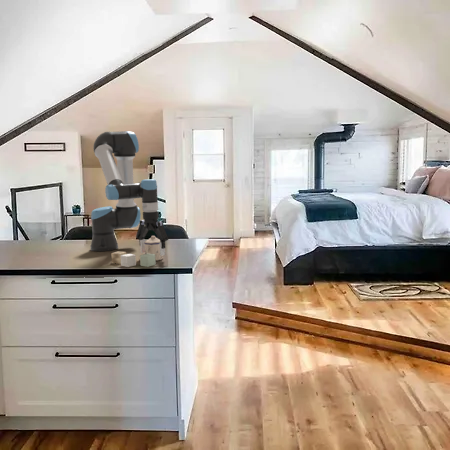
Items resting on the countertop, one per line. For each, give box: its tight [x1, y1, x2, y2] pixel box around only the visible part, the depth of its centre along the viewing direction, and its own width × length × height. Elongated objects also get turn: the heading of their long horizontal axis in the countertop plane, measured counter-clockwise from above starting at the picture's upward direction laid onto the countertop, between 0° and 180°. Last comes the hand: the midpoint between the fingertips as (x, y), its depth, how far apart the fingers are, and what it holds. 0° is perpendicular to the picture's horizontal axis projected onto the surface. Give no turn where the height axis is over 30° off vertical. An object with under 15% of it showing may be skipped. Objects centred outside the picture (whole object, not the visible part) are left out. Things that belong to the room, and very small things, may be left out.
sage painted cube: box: [139, 253, 157, 268], centre depth 243 cm, size 5×5×5 cm
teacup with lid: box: [144, 235, 164, 261], centre depth 254 cm, size 12×9×12 cm
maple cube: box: [110, 251, 127, 265], centre depth 251 cm, size 5×5×5 cm
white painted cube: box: [120, 253, 137, 268], centre depth 244 cm, size 5×5×5 cm
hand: (152, 253), depth 255 cm, fingers open, 13 cm apart
